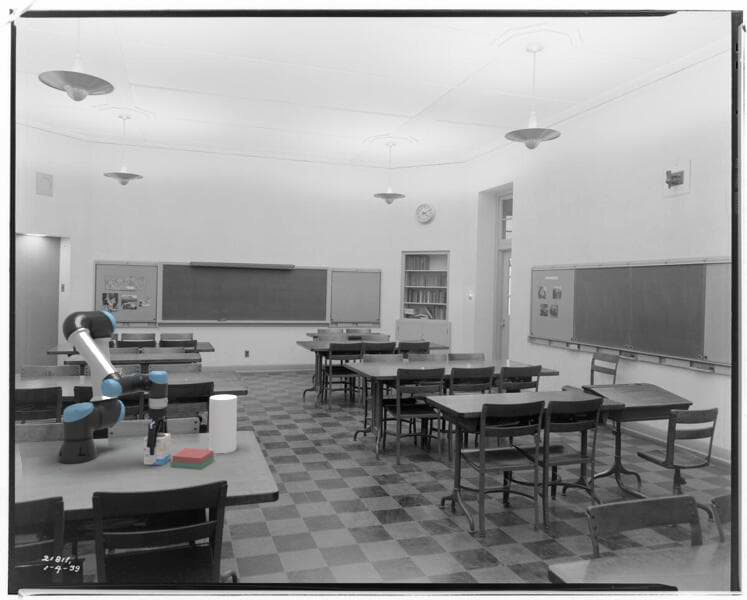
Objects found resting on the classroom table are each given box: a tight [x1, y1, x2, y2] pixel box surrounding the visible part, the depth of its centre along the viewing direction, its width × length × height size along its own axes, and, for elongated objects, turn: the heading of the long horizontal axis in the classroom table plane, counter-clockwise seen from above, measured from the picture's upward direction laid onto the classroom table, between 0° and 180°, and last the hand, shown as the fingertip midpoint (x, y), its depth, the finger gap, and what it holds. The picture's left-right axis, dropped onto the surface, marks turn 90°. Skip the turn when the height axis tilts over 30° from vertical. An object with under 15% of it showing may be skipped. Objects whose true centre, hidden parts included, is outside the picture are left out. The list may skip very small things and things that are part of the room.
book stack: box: [169, 447, 215, 470], centre depth 239 cm, size 14×12×5 cm
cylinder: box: [208, 393, 238, 454], centre depth 260 cm, size 12×12×25 cm
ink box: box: [143, 431, 172, 466], centre depth 240 cm, size 9×8×13 cm
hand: (157, 458), depth 240 cm, fingers closed on ink box, 8 cm apart
